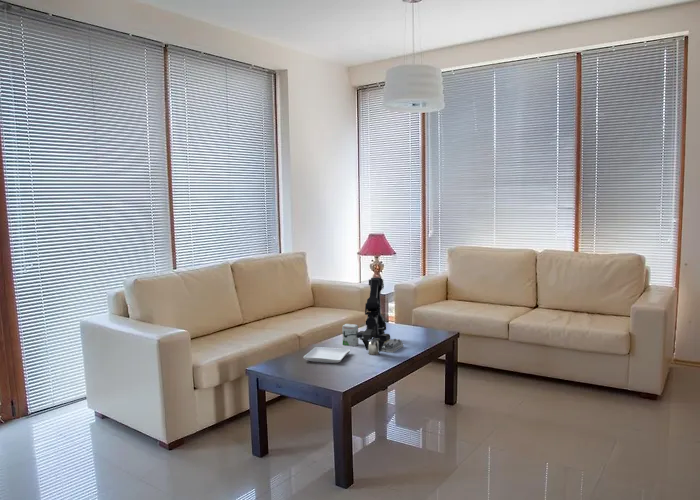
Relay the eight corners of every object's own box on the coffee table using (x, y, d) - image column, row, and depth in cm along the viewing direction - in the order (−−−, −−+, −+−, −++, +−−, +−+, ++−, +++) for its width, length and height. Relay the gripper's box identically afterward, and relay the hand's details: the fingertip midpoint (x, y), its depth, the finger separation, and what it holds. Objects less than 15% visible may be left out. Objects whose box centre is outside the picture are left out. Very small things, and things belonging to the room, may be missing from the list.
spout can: (366, 354, 301) (366, 339, 300) (371, 351, 306) (371, 337, 305) (375, 355, 298) (375, 340, 297) (380, 353, 303) (379, 338, 302)
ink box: (342, 345, 321) (341, 325, 320) (345, 342, 326) (344, 323, 324) (355, 346, 318) (355, 326, 317) (358, 344, 322) (358, 324, 321)
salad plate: (351, 354, 303) (351, 348, 303) (340, 365, 283) (340, 359, 282) (315, 352, 309) (315, 346, 308) (302, 363, 288) (302, 357, 288)
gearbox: (367, 349, 310) (367, 341, 310) (378, 343, 323) (378, 335, 322) (392, 352, 303) (392, 344, 302) (402, 346, 315) (402, 338, 314)
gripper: (351, 325, 298) (351, 352, 299) (381, 328, 289) (382, 356, 290) (360, 320, 307) (361, 347, 309) (390, 323, 298) (390, 351, 300)
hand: (373, 350), depth 302 cm, fingers open, 8 cm apart
